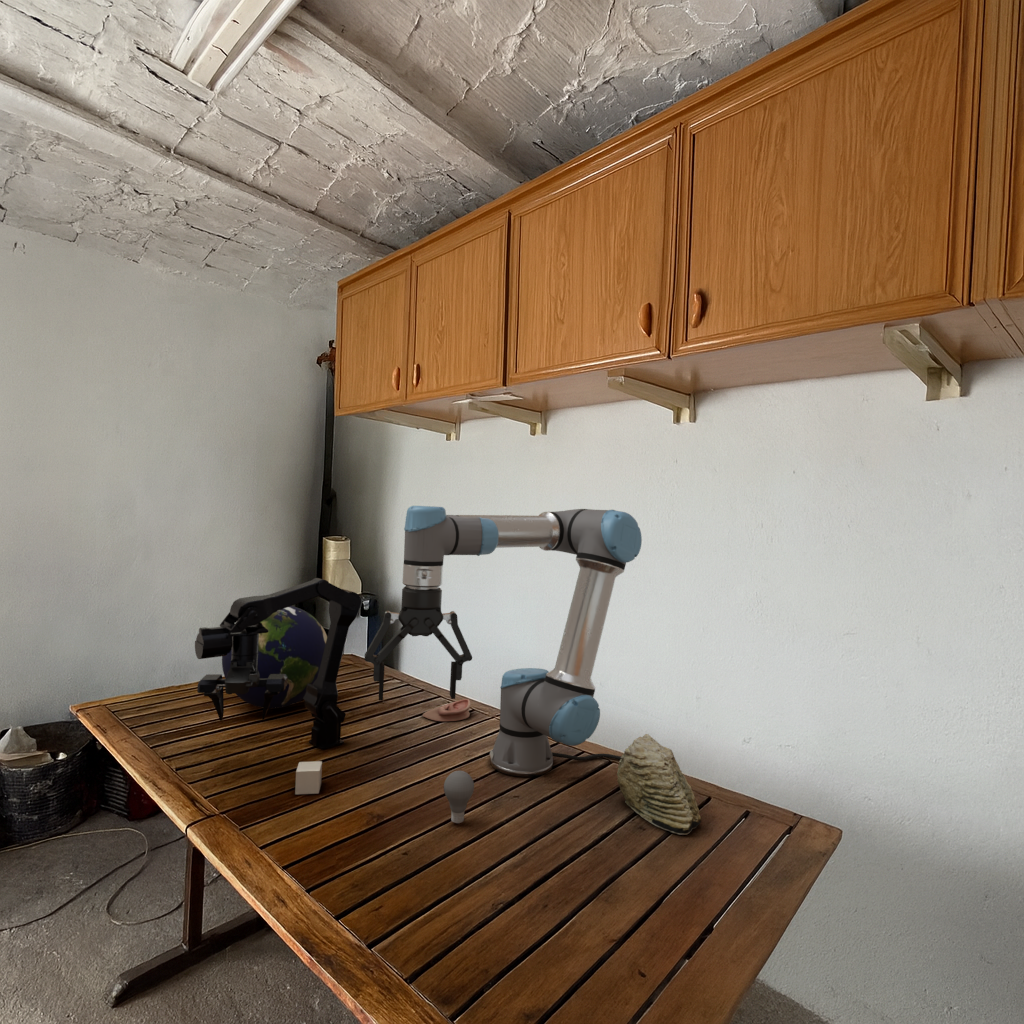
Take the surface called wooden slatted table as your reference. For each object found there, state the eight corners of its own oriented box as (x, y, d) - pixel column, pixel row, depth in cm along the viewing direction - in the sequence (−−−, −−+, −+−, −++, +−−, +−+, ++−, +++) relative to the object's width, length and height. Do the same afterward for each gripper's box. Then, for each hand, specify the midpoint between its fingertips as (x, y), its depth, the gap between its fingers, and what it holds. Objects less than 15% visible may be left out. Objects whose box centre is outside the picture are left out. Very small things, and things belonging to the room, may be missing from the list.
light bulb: (442, 814, 128) (444, 765, 128) (472, 814, 129) (474, 765, 129) (441, 829, 122) (444, 778, 122) (472, 829, 123) (475, 778, 123)
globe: (289, 685, 209) (292, 594, 208) (348, 705, 191) (352, 606, 191) (199, 706, 185) (203, 604, 184) (258, 732, 167) (262, 619, 167)
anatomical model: (419, 705, 182) (432, 693, 194) (418, 719, 182) (431, 706, 194) (463, 710, 180) (474, 698, 191) (463, 724, 180) (473, 711, 191)
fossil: (629, 792, 142) (632, 725, 142) (706, 824, 129) (710, 751, 129) (606, 804, 135) (609, 735, 135) (684, 839, 122) (687, 763, 122)
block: (295, 794, 134) (296, 771, 134) (298, 784, 139) (299, 761, 139) (318, 793, 135) (319, 770, 135) (321, 783, 140) (322, 761, 140)
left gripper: (191, 662, 138) (188, 733, 138) (281, 661, 141) (278, 731, 141) (205, 650, 149) (203, 716, 149) (289, 649, 152) (286, 714, 152)
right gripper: (354, 588, 114) (349, 705, 115) (490, 590, 120) (484, 702, 120) (355, 582, 122) (350, 692, 122) (483, 585, 127) (478, 690, 127)
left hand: (242, 719), depth 148 cm, fingers open, 9 cm apart
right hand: (416, 697), depth 121 cm, fingers open, 13 cm apart
